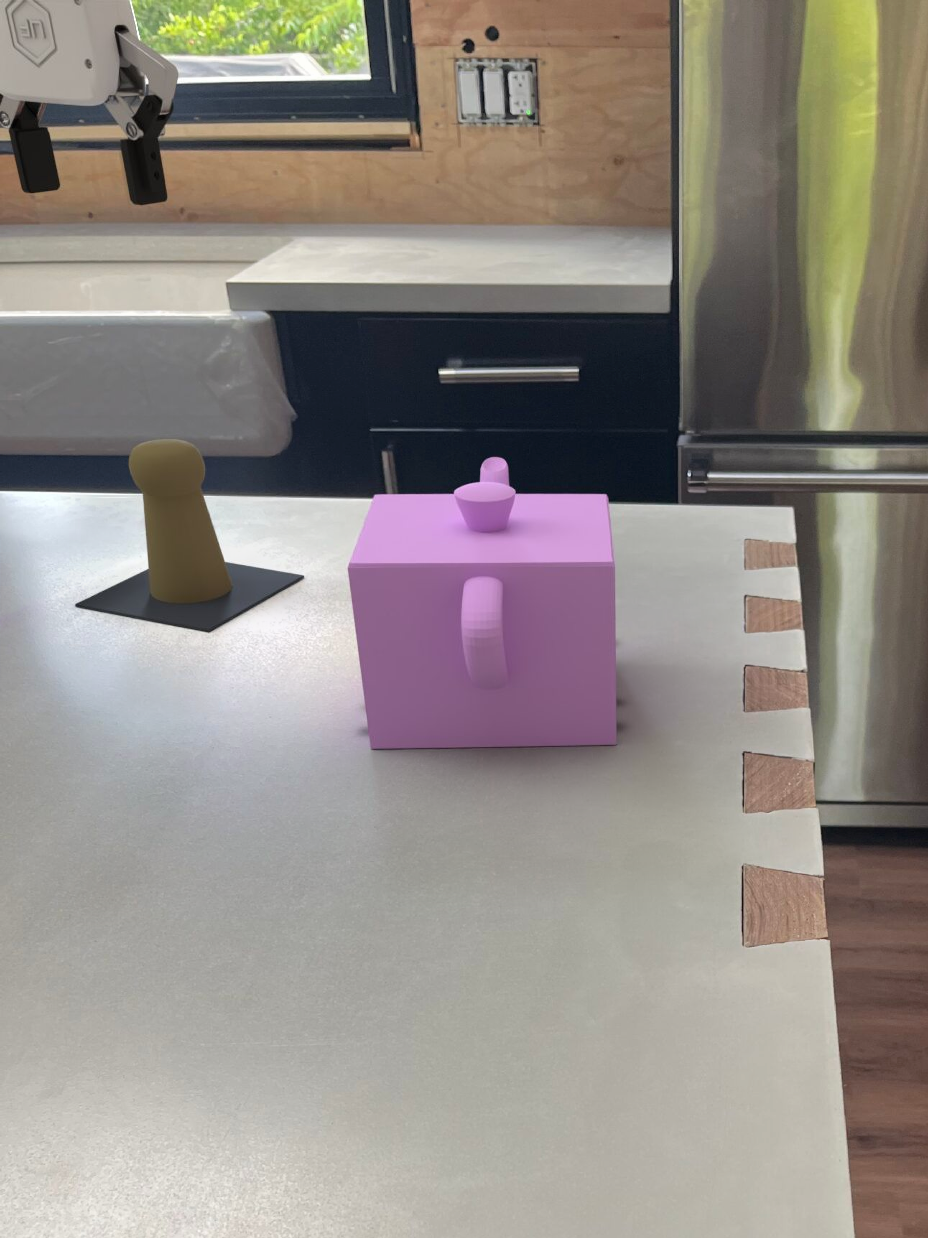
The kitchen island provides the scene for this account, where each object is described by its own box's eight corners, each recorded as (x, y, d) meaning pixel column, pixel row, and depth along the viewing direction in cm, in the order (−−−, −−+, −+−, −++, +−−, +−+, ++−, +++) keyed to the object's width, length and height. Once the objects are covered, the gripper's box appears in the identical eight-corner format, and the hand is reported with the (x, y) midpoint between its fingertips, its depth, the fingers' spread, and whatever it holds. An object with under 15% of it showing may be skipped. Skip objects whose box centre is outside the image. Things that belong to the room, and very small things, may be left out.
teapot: (606, 621, 99) (604, 428, 91) (619, 782, 78) (617, 552, 70) (402, 623, 97) (381, 427, 89) (361, 787, 77) (329, 553, 69)
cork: (150, 578, 103) (119, 434, 97) (231, 571, 105) (205, 429, 98) (150, 607, 98) (116, 457, 92) (234, 599, 100) (207, 451, 94)
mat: (75, 606, 99) (74, 604, 98) (179, 556, 108) (179, 553, 108) (208, 632, 95) (208, 629, 95) (304, 577, 105) (304, 575, 104)
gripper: (-113, -109, 85) (-39, 192, 95) (103, -103, 80) (157, 214, 90) (-22, -100, 91) (39, 182, 100) (184, -94, 86) (227, 202, 96)
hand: (95, 197), depth 95 cm, fingers open, 9 cm apart
